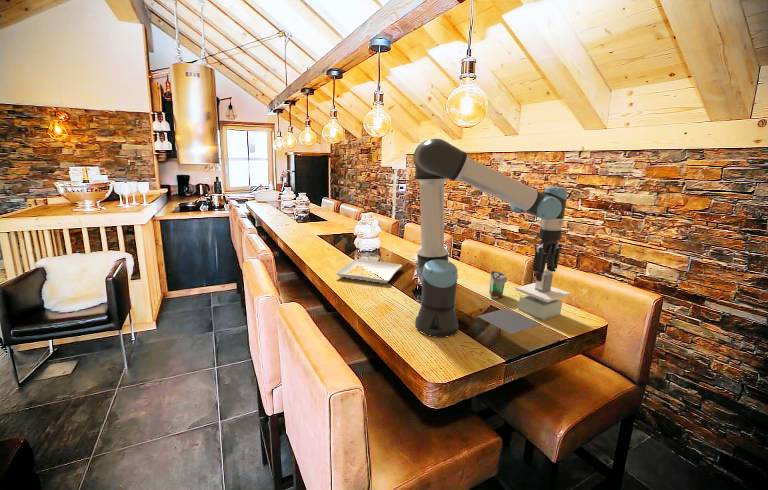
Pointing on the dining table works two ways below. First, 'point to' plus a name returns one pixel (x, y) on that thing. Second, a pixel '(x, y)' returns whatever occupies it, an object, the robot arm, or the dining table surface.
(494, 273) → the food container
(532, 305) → the open square box
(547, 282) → the lid
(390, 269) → the square plate
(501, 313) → the mat
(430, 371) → the dining table surface
